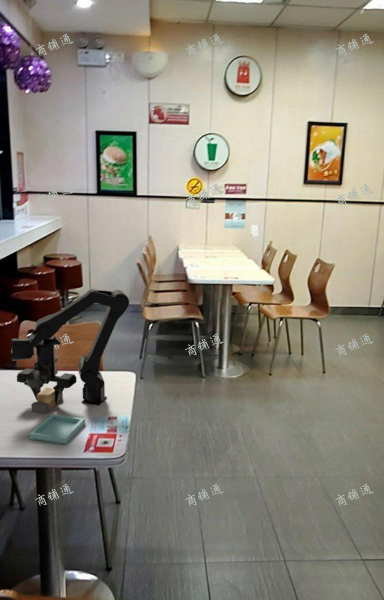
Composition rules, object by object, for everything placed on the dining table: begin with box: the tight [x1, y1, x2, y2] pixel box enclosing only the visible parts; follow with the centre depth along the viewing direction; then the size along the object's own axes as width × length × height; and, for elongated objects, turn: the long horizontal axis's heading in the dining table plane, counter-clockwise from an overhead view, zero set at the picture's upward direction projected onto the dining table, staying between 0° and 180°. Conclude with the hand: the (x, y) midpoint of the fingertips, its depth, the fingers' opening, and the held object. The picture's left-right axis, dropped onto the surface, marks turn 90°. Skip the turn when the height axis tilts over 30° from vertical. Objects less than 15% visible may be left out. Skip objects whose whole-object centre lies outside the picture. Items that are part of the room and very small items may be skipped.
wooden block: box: [36, 386, 57, 410], centre depth 161 cm, size 4×6×5 cm, turn 166°
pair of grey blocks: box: [30, 392, 64, 414], centre depth 161 cm, size 5×11×2 cm, turn 166°
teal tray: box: [29, 413, 86, 446], centre depth 144 cm, size 11×13×2 cm
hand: (47, 402), depth 161 cm, fingers open, 6 cm apart
